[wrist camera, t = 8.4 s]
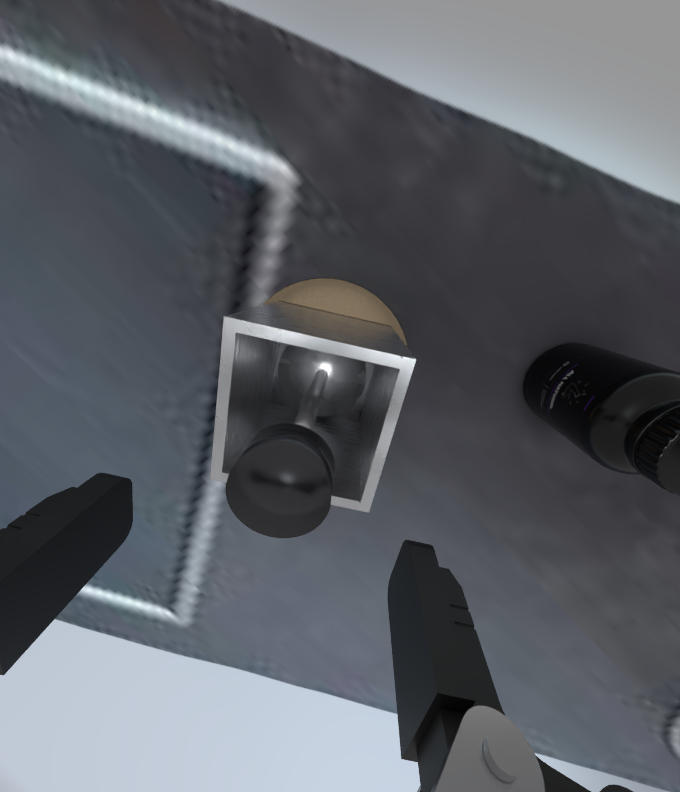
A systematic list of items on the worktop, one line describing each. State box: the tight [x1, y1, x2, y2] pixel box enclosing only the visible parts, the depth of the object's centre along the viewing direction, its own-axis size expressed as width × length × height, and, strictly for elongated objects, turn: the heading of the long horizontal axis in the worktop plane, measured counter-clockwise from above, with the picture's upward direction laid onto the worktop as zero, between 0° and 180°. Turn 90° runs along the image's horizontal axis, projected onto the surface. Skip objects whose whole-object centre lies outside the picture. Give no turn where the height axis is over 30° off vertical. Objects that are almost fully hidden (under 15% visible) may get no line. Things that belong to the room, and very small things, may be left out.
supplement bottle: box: [525, 344, 680, 496], centre depth 21 cm, size 7×7×12 cm
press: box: [210, 278, 416, 513], centre depth 22 cm, size 14×14×12 cm
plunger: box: [226, 344, 366, 538], centre depth 18 cm, size 7×7×15 cm
